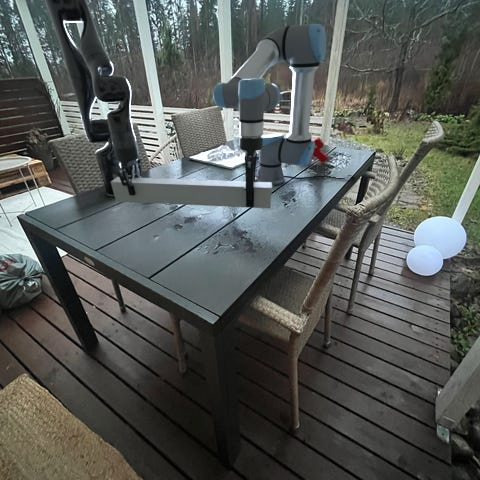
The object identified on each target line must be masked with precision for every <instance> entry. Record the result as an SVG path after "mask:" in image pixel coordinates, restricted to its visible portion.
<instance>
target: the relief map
mask: <svg viewBox="0 0 480 480" xmlns="http://www.w3.org/2000/svg"><path fill="white" fill-rule="evenodd" d="M245 153H246V151H245V150H241V149H240V148H238V149H235V150H233V149H231V148H230V147H229V146H228V145H227V144H225V145H224V144H221V145H220V146H219V147H216V148H213V149H210V150H208V151H204V152H202V151H201V152H200V153H198V154H196V155H192V156H189V160H193V161H196V162H201V163H204V164H209V165H214V166H217V167H222V168H226V169H230V170H233V169H235V168H237V167H240V166H241V165H245V160H244V157H245Z"/></svg>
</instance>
